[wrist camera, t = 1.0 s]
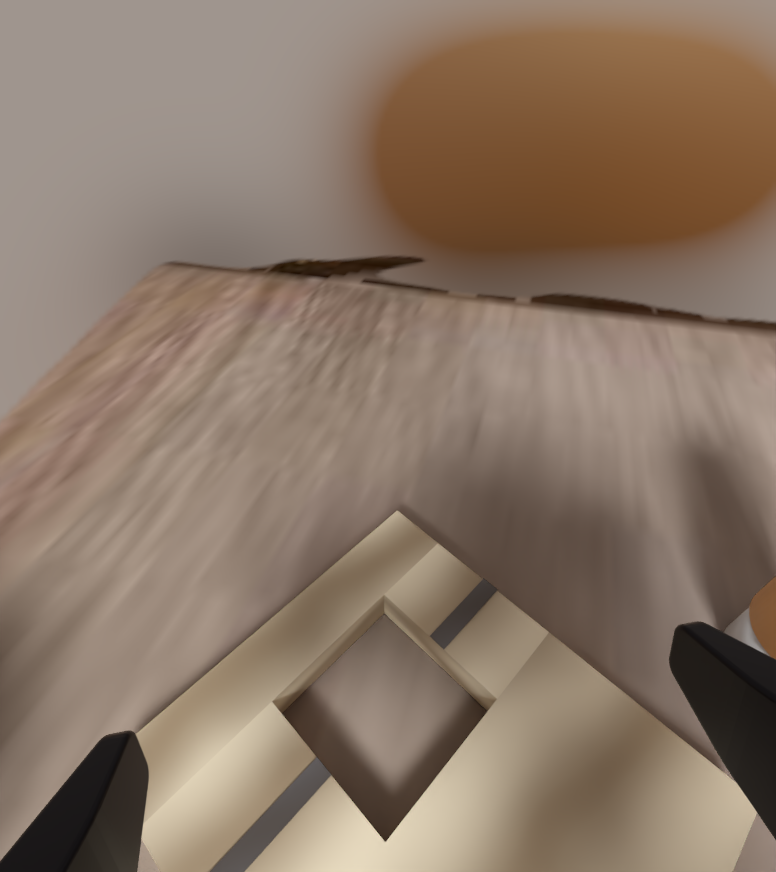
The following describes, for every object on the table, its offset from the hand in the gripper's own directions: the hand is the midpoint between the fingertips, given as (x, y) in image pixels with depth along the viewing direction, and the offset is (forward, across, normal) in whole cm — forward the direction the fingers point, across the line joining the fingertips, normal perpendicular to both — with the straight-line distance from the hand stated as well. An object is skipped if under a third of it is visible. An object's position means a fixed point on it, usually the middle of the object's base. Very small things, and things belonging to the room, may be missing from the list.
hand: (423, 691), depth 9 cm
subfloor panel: (+7, -1, +14) cm, 16 cm away
